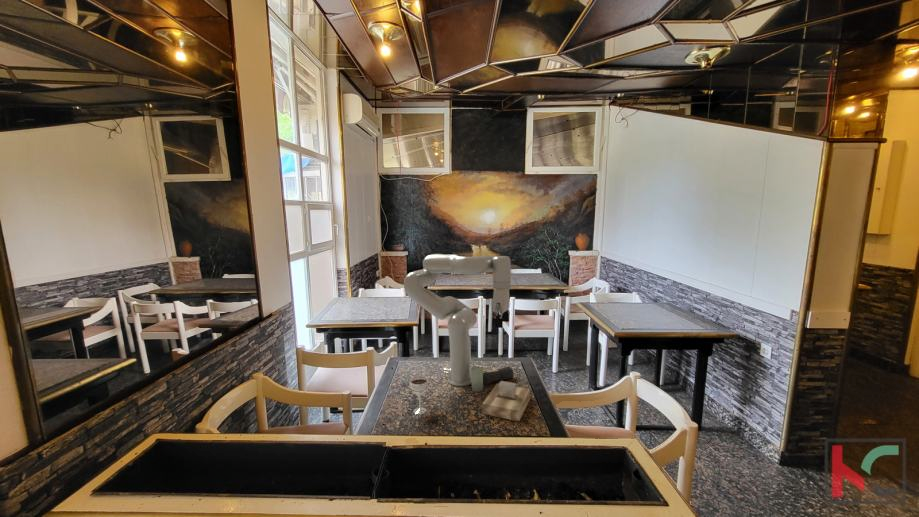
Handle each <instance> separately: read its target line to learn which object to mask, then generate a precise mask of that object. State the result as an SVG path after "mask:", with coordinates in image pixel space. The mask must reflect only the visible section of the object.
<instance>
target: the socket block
mask: <svg viewBox="0 0 919 517" xmlns="http://www.w3.org/2000/svg"><path fill="white" fill-rule="evenodd" d="M530 400H531V389H530V388H526V387H520V386H516V400H510V399H504V398H499V383H496V384H495V385H494V387H493V388H492V389H491V391H490V392H489V394H488V395H487V396H486V398H485V399H484V401H483V402H482V406H481V407H482V415H487V416H491V417H495V418H496V417H497V418H502V419H506V420H511V421H515V422H520V421H521V418H522V416H523V414H524V412H525V410H526V409H527V406H528V404H529V402H530Z"/></svg>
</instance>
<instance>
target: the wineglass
mask: <svg viewBox="0 0 919 517" xmlns="http://www.w3.org/2000/svg"><path fill="white" fill-rule="evenodd" d="M428 381H429V380H428V378H427V377H425V376H418V377H414V378H412V379H410V390H411V392H412V393H413V394H414V395H416V396H418V405H419V407H416V408H415V409H414V410H413V413H414V414H415V415H423V414H425V413H427V411H428V410H427V408H425V407H421V406H422V405H421V401H422V400H421V397H422V395H424V394H425V393H426V392H427V391H428V388H429V384H428Z"/></svg>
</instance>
